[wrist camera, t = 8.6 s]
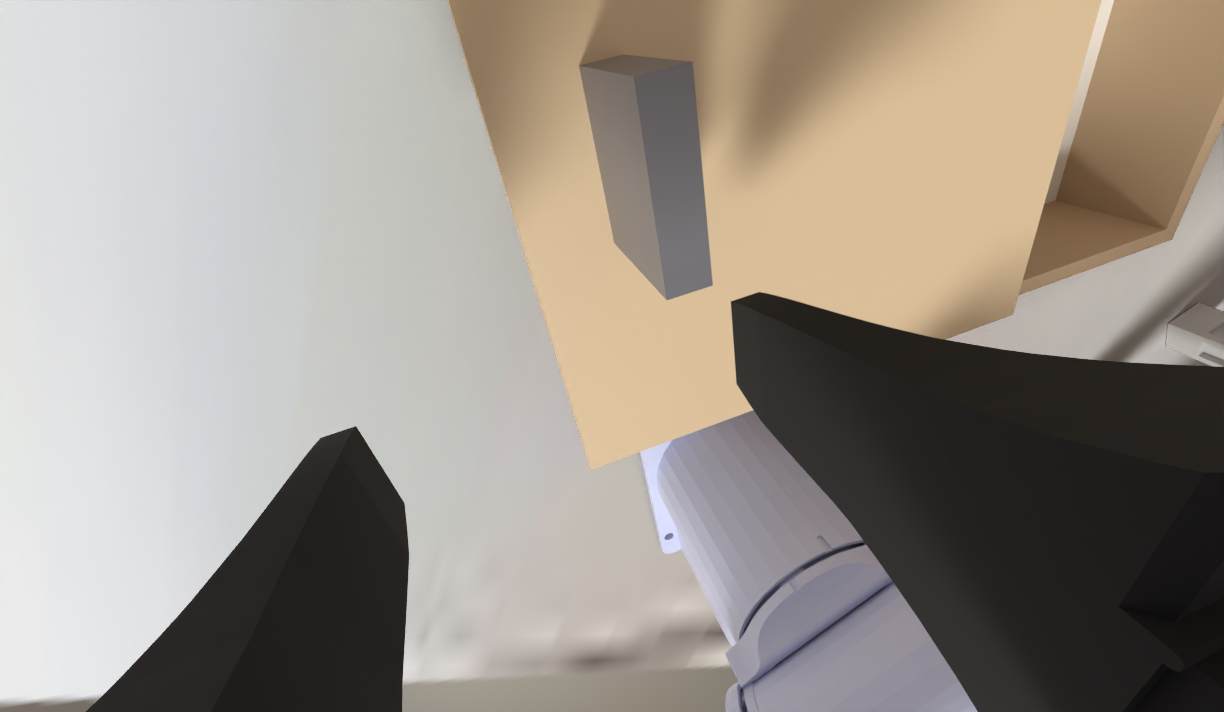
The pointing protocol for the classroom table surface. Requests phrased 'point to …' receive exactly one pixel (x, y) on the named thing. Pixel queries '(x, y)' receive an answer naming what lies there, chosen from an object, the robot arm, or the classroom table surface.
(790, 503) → the robot arm
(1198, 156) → the tan shallow tray
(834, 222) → the lid
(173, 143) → the classroom table surface
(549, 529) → the classroom table surface
